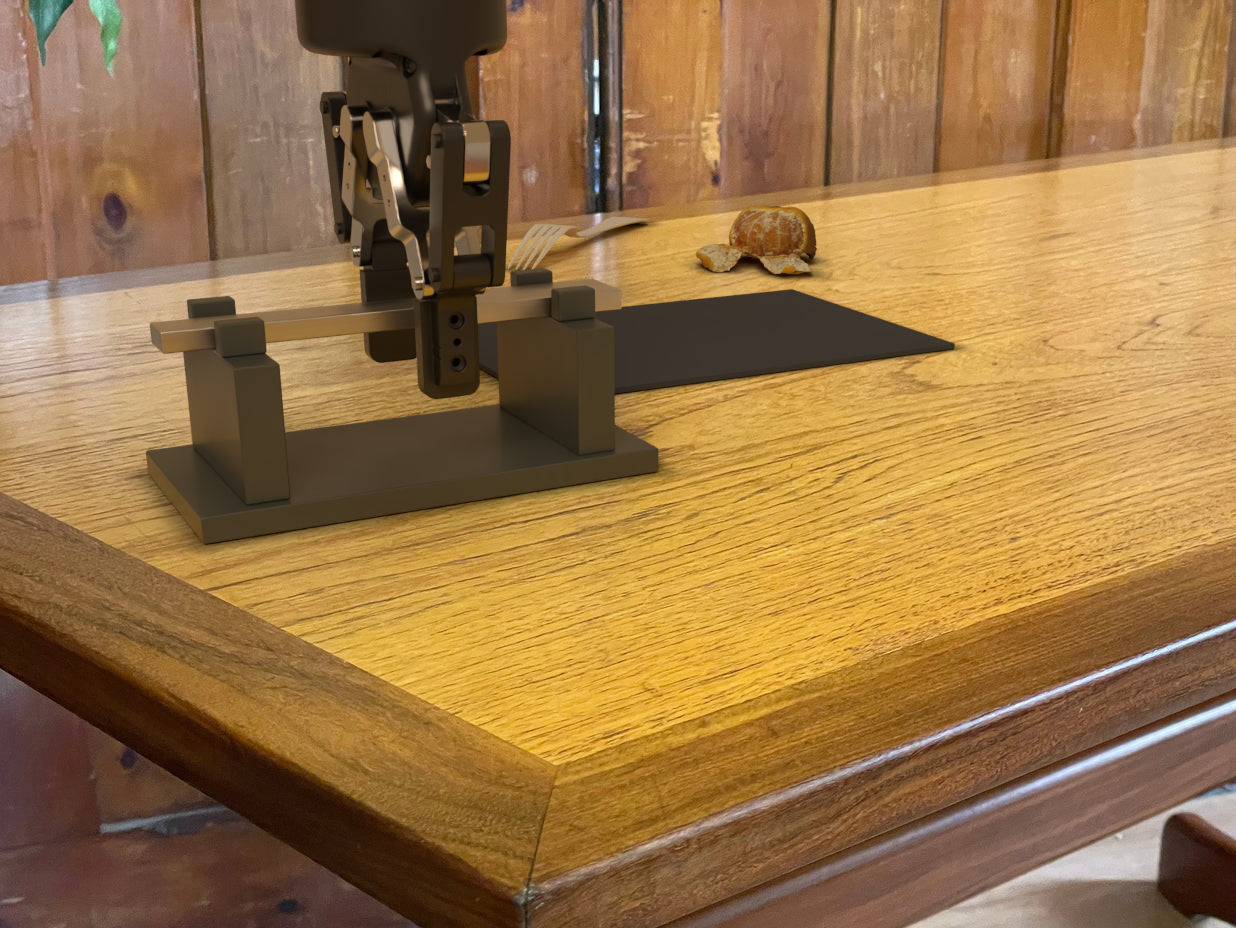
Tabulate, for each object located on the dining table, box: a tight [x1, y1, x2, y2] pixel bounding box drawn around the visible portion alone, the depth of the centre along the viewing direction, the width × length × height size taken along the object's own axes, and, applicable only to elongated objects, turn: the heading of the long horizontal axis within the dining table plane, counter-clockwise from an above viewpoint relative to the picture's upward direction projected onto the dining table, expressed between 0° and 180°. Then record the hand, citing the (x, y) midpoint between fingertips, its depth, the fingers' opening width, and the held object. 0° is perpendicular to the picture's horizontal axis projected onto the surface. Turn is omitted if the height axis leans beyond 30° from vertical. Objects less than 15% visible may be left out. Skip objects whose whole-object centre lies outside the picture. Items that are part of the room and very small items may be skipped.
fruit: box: [695, 205, 818, 275], centre depth 107 cm, size 8×8×4 cm
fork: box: [506, 215, 650, 271], centre depth 113 cm, size 3×21×3 cm, turn 161°
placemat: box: [478, 288, 956, 395], centre depth 86 cm, size 24×16×1 cm, turn 120°
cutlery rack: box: [145, 267, 659, 545], centre depth 63 cm, size 18×9×7 cm, turn 120°
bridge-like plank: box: [149, 278, 623, 355], centre depth 62 cm, size 18×3×1 cm, turn 120°
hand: (420, 374), depth 63 cm, fingers open, 5 cm apart
